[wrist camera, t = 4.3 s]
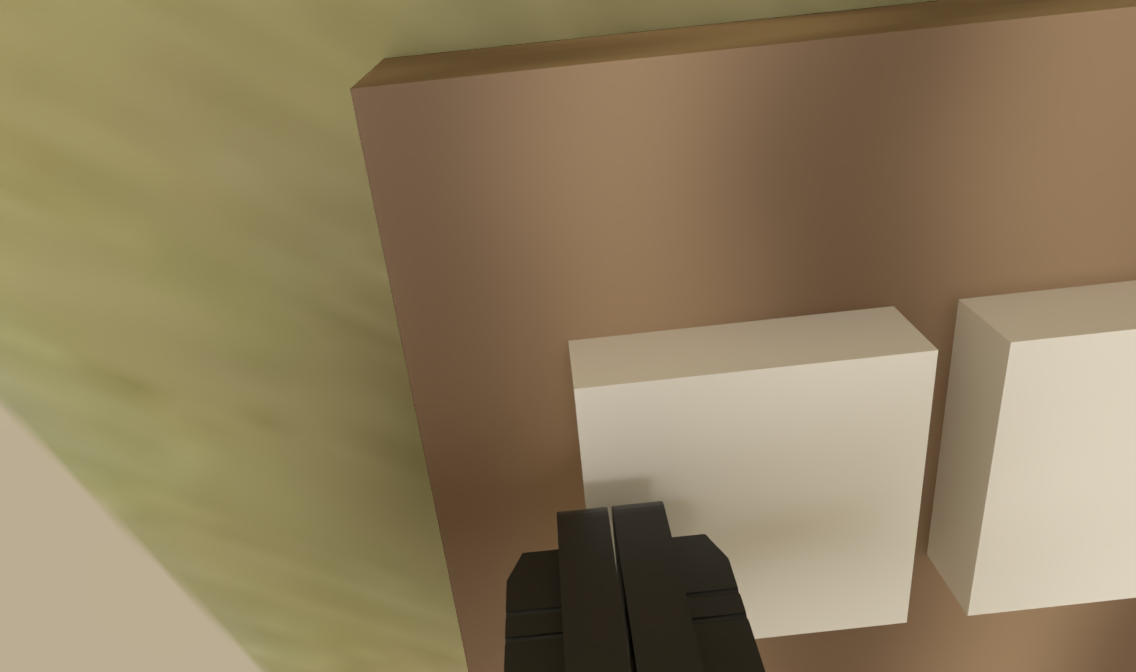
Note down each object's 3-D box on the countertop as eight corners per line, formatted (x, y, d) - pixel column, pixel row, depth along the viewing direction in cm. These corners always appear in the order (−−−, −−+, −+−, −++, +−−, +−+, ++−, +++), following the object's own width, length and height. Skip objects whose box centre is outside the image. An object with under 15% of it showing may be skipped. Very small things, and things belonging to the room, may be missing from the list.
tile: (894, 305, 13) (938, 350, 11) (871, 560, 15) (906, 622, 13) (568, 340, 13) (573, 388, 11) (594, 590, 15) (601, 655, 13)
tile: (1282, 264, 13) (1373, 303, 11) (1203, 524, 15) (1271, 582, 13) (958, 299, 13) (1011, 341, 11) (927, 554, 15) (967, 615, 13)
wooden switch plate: (1260, -33, 14) (1443, -26, 11) (1108, 574, 19) (1203, 677, 17) (384, 58, 14) (350, 88, 11) (490, 640, 19) (485, 755, 17)
